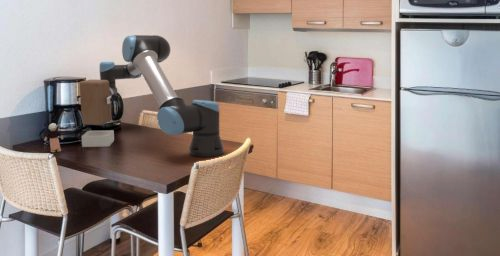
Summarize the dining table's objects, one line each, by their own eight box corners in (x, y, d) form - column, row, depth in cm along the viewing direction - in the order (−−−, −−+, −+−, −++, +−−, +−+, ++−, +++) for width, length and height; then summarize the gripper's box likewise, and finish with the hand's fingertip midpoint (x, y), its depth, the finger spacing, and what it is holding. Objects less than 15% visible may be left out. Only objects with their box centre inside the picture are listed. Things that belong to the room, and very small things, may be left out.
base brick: (108, 146, 207) (108, 136, 206) (82, 146, 206) (81, 136, 205) (114, 140, 219) (113, 130, 218) (88, 140, 218) (88, 130, 217)
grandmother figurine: (61, 149, 202) (59, 121, 200) (65, 150, 200) (62, 122, 197) (44, 152, 197) (41, 123, 194) (47, 153, 194) (44, 125, 192)
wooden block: (101, 125, 205) (98, 82, 200) (81, 124, 207) (78, 81, 202) (112, 121, 214) (109, 79, 210) (93, 120, 216) (90, 79, 212)
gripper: (129, 101, 228) (121, 109, 206) (80, 102, 225) (67, 109, 204) (128, 87, 226) (120, 92, 205) (79, 87, 224) (65, 93, 203)
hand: (93, 101), depth 205 cm, fingers closed on wooden block, 12 cm apart
